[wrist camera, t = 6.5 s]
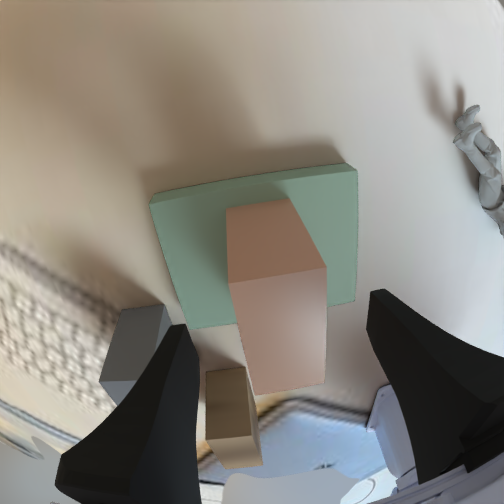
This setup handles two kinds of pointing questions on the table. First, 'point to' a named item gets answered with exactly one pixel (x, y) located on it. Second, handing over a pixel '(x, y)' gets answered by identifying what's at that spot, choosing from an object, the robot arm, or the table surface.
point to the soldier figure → (483, 164)
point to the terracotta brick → (277, 295)
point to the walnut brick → (232, 419)
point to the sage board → (215, 235)
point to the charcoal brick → (132, 348)
